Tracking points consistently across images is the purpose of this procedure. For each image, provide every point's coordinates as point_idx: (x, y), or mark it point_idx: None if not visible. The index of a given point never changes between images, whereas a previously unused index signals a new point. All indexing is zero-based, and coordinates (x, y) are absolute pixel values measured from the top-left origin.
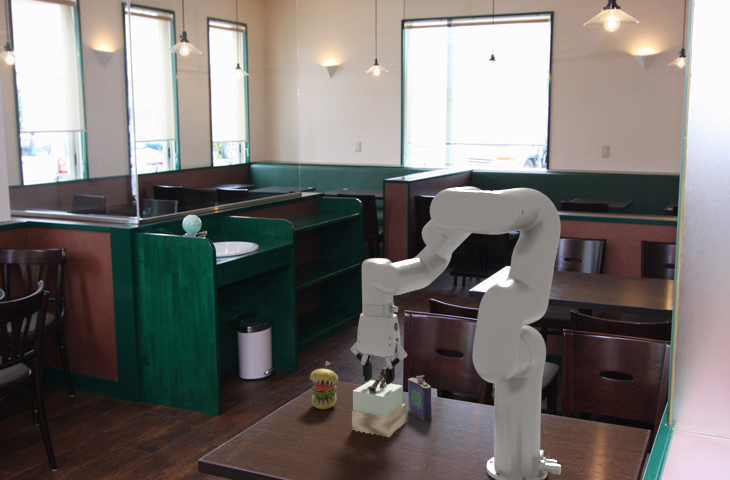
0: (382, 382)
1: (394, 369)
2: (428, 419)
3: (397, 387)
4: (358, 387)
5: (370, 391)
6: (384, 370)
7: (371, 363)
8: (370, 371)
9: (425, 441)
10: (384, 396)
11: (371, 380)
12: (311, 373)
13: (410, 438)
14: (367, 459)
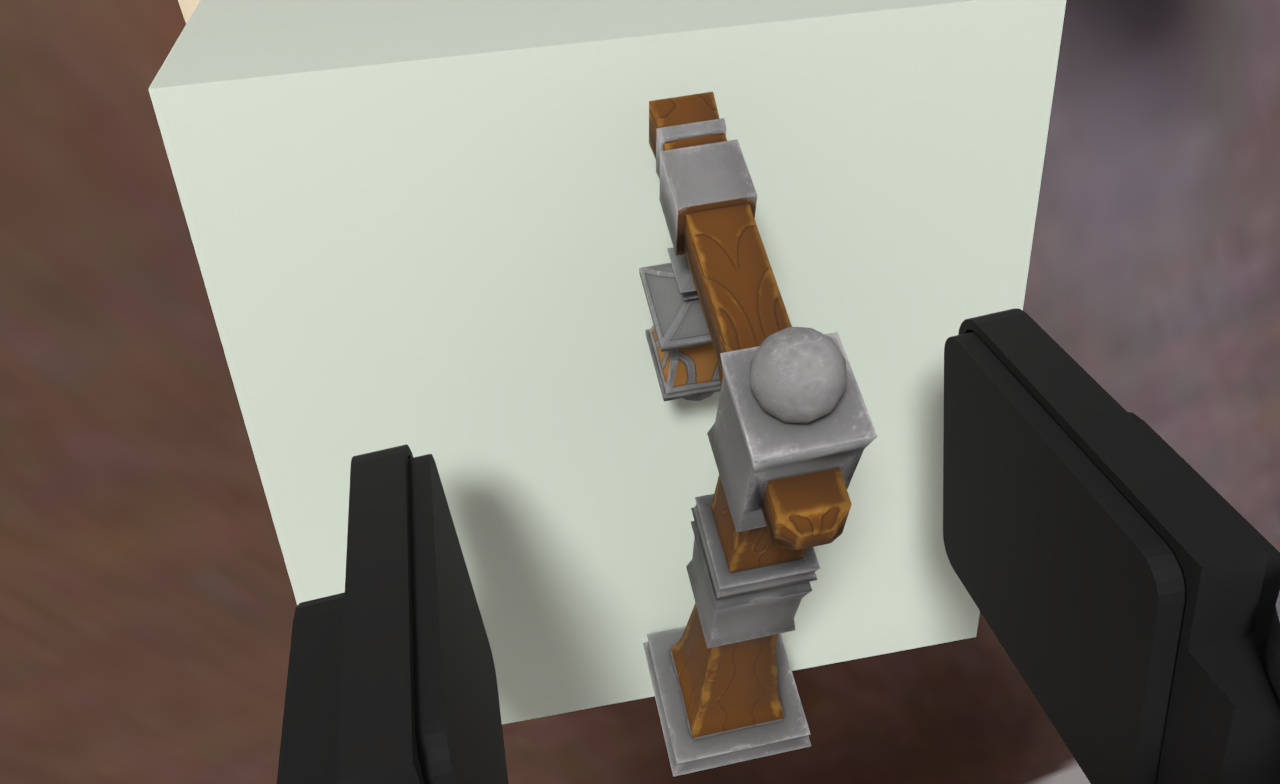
0: (705, 340)
1: (1274, 559)
2: None
3: (1001, 155)
4: (297, 604)
5: (652, 637)
6: (845, 477)
7: (455, 773)
8: (459, 644)
9: (1215, 188)
10: (961, 626)
11: (182, 118)
12: None
13: (1048, 218)
14: (867, 716)
